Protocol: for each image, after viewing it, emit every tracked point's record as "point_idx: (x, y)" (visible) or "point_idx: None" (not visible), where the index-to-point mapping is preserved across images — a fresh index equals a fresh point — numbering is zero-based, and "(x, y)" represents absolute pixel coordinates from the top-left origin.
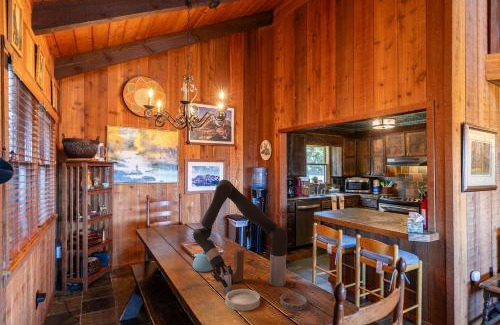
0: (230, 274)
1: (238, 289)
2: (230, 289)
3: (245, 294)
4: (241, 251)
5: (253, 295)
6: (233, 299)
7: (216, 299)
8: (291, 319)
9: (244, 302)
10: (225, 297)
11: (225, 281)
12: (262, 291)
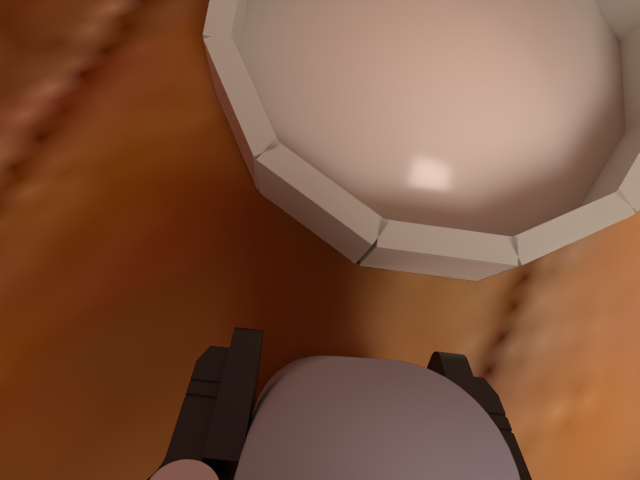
0: (240, 472)
1: (313, 186)
2: (323, 355)
3: (281, 105)
4: None
5: (246, 6)
6: (501, 158)
7: (596, 393)
8: None
9: (470, 13)
10: (634, 209)
11: None
12: (13, 7)
